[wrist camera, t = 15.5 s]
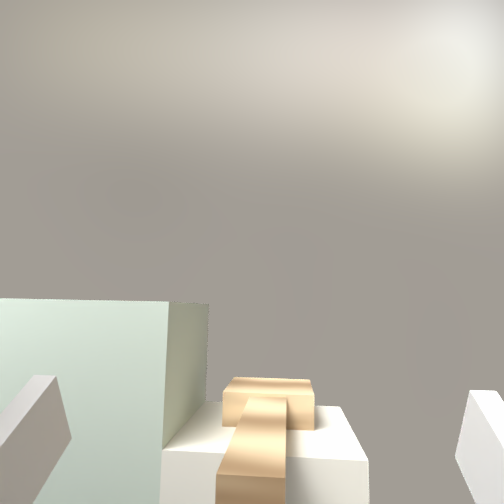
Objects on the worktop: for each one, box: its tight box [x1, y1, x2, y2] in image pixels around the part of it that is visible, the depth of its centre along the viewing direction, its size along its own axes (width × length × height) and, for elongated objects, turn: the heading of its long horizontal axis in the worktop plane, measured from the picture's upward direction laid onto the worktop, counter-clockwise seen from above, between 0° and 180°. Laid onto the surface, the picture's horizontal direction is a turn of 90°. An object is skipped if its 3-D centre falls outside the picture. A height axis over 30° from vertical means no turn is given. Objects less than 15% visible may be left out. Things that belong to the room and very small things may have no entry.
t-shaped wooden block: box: [215, 377, 314, 504], centre depth 23 cm, size 19×6×2 cm, turn 175°
